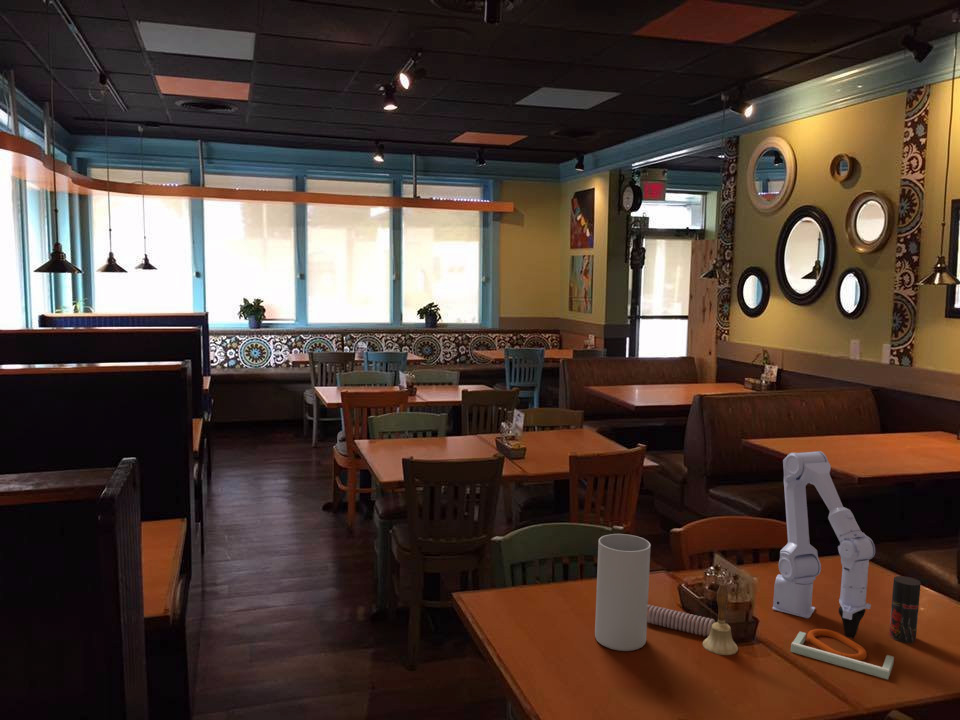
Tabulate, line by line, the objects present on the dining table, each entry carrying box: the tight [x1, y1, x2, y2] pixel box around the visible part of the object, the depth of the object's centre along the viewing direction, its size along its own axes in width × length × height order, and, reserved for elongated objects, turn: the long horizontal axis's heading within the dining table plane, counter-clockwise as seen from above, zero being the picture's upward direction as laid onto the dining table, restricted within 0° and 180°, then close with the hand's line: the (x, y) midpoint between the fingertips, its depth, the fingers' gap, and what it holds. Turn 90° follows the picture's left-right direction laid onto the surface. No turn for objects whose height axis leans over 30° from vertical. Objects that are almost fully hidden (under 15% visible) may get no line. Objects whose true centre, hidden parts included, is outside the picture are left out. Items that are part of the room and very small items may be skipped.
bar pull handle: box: [790, 631, 895, 680], centre depth 180 cm, size 21×9×2 cm, turn 54°
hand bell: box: [702, 583, 739, 656], centre depth 184 cm, size 8×8×16 cm
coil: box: [647, 604, 716, 638], centre depth 194 cm, size 5×5×18 cm
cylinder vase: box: [594, 533, 652, 652], centre depth 186 cm, size 12×12×25 cm
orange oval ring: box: [806, 628, 868, 662], centre depth 186 cm, size 10×2×15 cm
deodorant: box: [888, 575, 922, 644], centre depth 191 cm, size 6×6×15 cm
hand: (850, 636), depth 189 cm, fingers closed
